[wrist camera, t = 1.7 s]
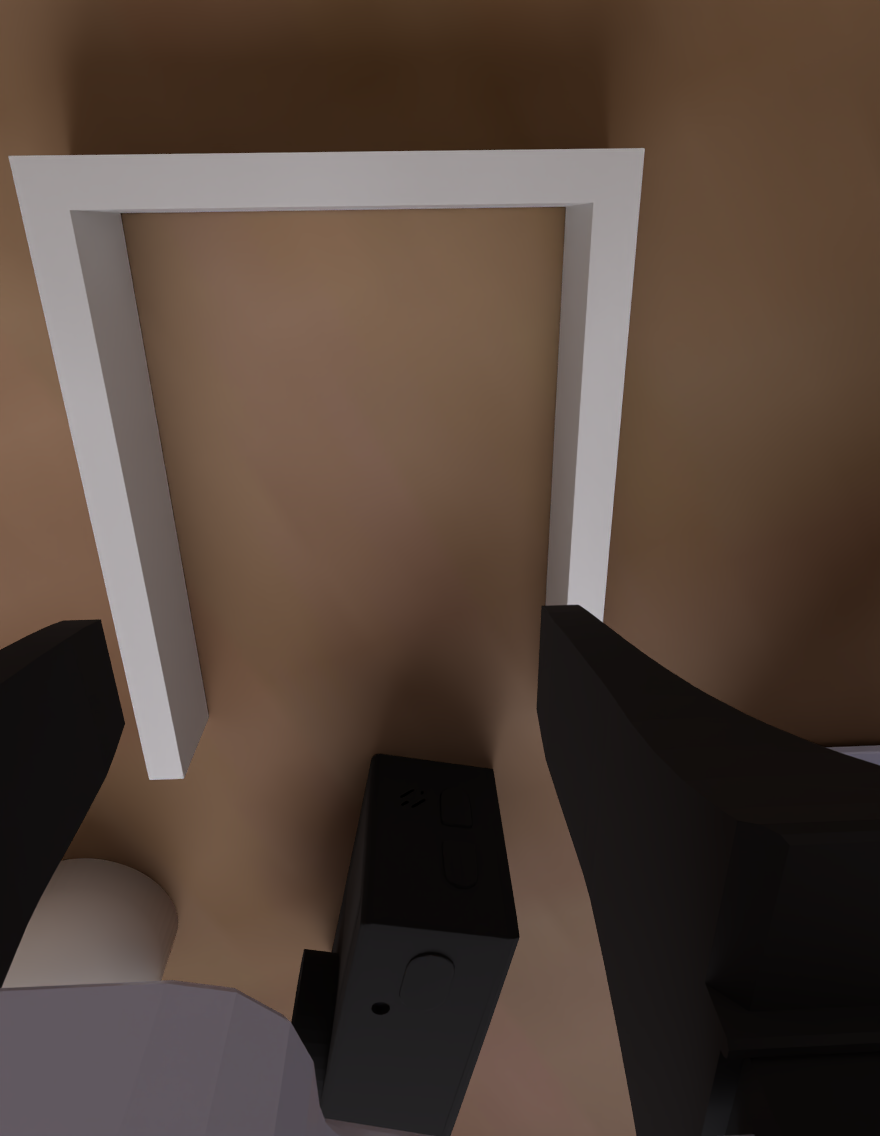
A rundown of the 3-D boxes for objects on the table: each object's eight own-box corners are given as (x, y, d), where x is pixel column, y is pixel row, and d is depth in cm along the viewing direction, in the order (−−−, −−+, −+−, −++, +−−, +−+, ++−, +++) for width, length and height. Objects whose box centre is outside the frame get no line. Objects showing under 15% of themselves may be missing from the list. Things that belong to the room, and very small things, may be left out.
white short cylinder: (164, 854, 27) (114, 980, 22) (189, 966, 29) (149, 1101, 25) (-4, 860, 27) (-89, 989, 22) (36, 973, 29) (-32, 1110, 25)
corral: (608, 160, 18) (644, 148, 15) (569, 704, 25) (590, 763, 22) (70, 167, 18) (8, 155, 15) (178, 718, 24) (149, 779, 22)
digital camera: (339, 743, 25) (315, 917, 19) (494, 764, 26) (521, 939, 19) (301, 952, 29) (271, 1152, 23) (435, 966, 30) (442, 1164, 24)
